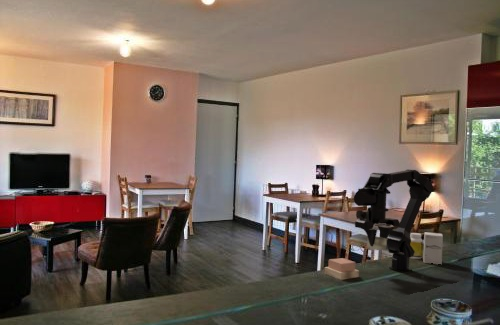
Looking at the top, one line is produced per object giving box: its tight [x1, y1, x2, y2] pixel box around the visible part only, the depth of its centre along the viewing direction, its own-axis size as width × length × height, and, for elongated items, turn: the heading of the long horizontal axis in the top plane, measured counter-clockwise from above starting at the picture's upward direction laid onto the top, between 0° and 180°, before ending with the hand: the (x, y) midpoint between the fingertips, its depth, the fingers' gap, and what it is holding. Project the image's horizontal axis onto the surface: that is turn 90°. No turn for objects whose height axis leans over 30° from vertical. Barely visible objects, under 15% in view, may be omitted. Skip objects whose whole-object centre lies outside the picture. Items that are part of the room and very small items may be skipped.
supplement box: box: [422, 231, 444, 266], centre depth 183 cm, size 7×7×13 cm
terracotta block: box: [327, 257, 356, 272], centre depth 158 cm, size 7×7×3 cm
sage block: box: [366, 235, 388, 251], centre depth 161 cm, size 5×5×4 cm
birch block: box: [324, 266, 360, 281], centre depth 158 cm, size 9×9×3 cm
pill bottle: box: [409, 232, 424, 260], centre depth 191 cm, size 6×6×11 cm
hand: (376, 245), depth 161 cm, fingers closed on sage block, 5 cm apart
